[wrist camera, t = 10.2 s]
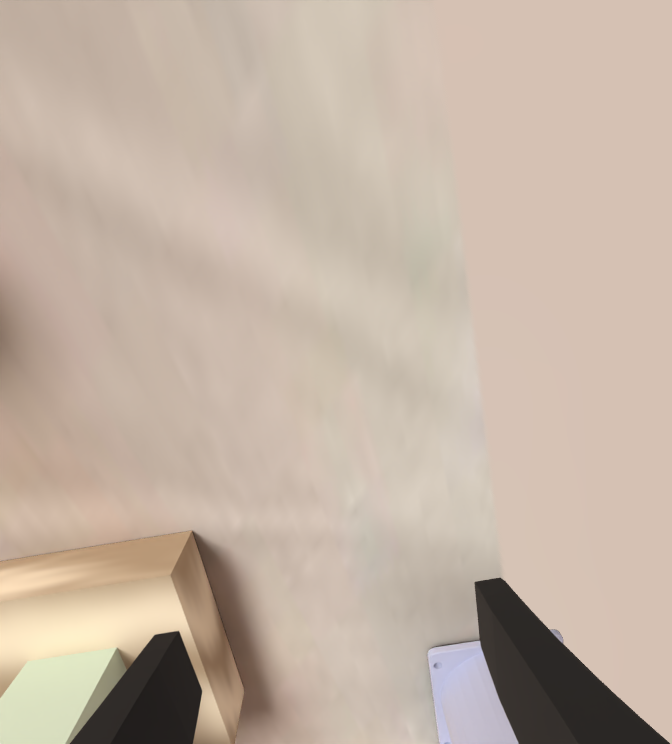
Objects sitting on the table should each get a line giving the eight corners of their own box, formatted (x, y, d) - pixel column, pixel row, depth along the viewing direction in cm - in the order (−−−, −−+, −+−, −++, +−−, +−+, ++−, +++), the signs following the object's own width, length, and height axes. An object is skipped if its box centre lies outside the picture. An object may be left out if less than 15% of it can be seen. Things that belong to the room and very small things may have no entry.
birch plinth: (244, 690, 24) (233, 749, 21) (57, 718, 24) (21, 781, 21) (191, 530, 21) (170, 574, 18) (-26, 565, 21) (-82, 615, 18)
